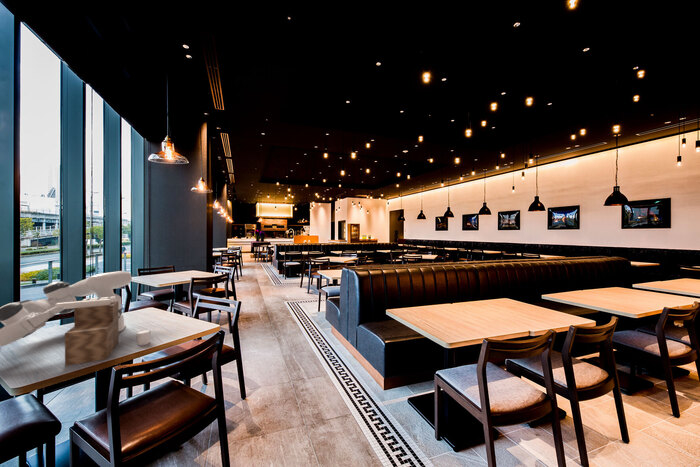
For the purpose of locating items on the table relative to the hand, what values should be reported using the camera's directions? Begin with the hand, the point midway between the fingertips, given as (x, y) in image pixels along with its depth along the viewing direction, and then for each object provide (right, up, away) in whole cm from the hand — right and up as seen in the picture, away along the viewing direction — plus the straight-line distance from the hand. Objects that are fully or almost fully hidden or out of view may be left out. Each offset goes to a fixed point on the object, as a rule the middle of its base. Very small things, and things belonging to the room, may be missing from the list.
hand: (66, 304), depth 151 cm
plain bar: (+6, -2, +4) cm, 8 cm away
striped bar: (+9, -2, +10) cm, 14 cm away
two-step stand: (+13, -27, +3) cm, 30 cm away
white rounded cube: (+29, -27, +16) cm, 43 cm away
